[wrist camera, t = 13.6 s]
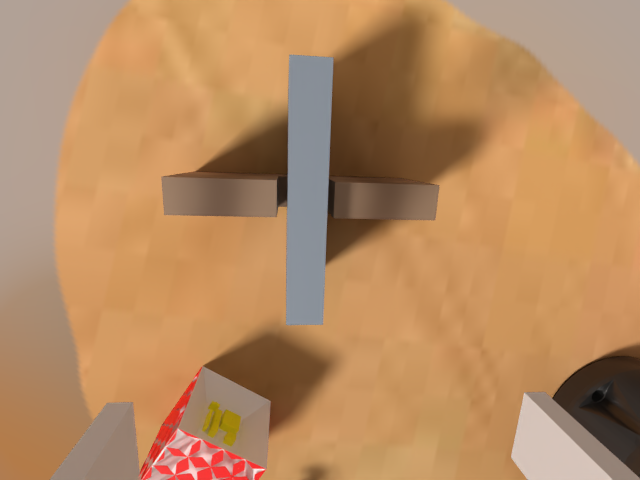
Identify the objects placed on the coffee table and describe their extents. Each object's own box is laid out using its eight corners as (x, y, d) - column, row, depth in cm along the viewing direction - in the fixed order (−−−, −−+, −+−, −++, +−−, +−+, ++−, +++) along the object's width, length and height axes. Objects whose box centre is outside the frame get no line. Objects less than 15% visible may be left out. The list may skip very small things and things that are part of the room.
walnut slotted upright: (400, 178, 31) (439, 185, 23) (398, 204, 31) (435, 220, 23) (195, 171, 29) (161, 176, 21) (196, 199, 29) (164, 215, 22)
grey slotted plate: (317, 91, 28) (333, 57, 18) (311, 273, 32) (322, 324, 22) (288, 90, 28) (289, 54, 18) (286, 273, 32) (286, 325, 22)
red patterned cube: (271, 400, 35) (266, 469, 27) (230, 455, 36) (215, 536, 28) (202, 365, 33) (176, 427, 26) (161, 424, 34) (125, 500, 27)
